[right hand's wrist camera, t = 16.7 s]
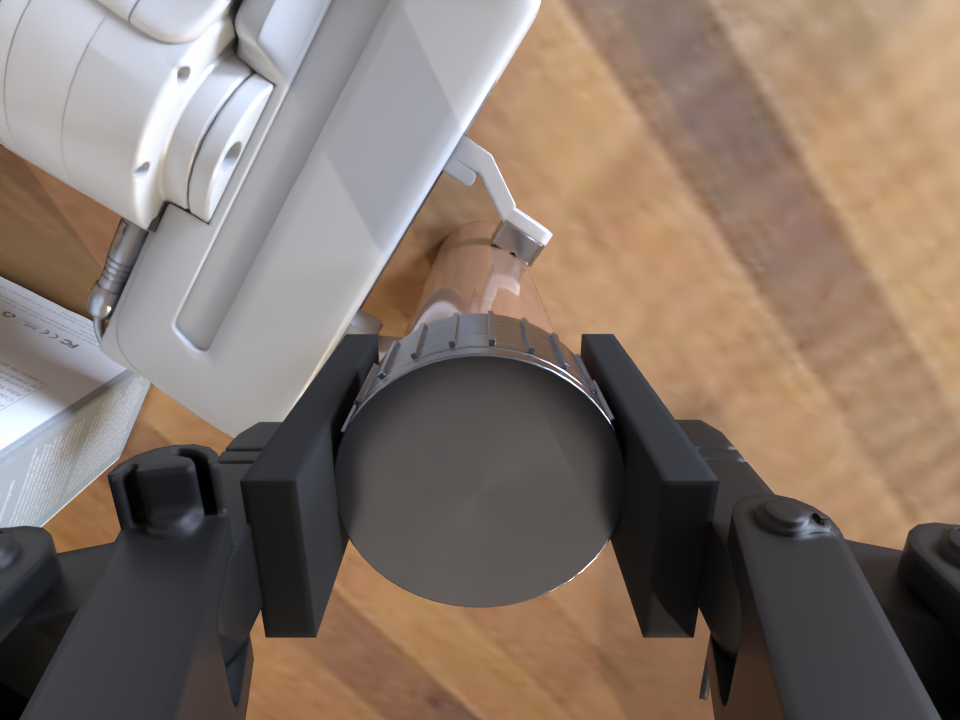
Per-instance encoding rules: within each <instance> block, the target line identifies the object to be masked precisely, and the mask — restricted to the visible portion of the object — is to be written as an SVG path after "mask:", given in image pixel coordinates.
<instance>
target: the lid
mask: <svg viewBox="0 0 960 720" xmlns="http://www.w3.org/2000/svg"><path fill="white" fill-rule="evenodd" d="M615 423H616V420H615V418H614V416H613V414H612V412H611V410H610V408H609V406H608V404H607V402H606V400H605V398H604V396H603V394H602V392H601V390H600V388H599V386H598V384H597V382H596V380H593V381H592V379H591V377H590V375H589V373H588V370H587V368H586V366H585V364H584V362H583V360H582V358H581V356H580V355H579V354H576V355H574V354H573V353H572V352H571V351H570V350H569V349H568V348H567V347H566V346H565V345H564V344H563V343H562V342H561V341H560V340H559V338H558V336H557V334H555V333H554V332H552V334H550V333H548V332H546V331H545V330H543V329H541V328H539V327H538V326H535V325H533V324H530V323H528V320H527V319H526V318H523V317H522V319H521V320H520V319H516V318H513V317H509V316H504V315H497V314H494V313H493V311H488V313H471V314H462V315H459V313H458V312H457V313H453V316H451V317H447V318H443V319H439V320H437V321H434V322H432V323H429V324H426V323H425V322H424V323H422V324H420V327H419V329H417V330H415V331H413V332H411V333H410V334H408V335H407V336H406V337H404V338H403V339H402V340H400V341H399V342H398V341H397V340H395V341H394V342H393V343H392V345H391V347H390V349H389V351H388V352H387V353H386V355H385V356H384V357H383V358H382V360H381V361H380V362H379V363H378V365H377V364H375V363H374V364H373V365H372V367H371V369H370V371H369V373H368V375H367V377H366V379H365V381H364V383H363V385H362V387H361V389H360V391H359V393H358V395H357V397H356V399H355V401H354V403H353V406H352V408H351V410H350V412H349V414H348V416H347V418H346V420H345V422H344V424H343V426H342V428H341V430H340V433H339V436H342V438H341V441H340V443H339V446H338V449H337V453H336V458H335V462H334V475H335V486H336V496H337V505H338V514H339V517H340V520H341V522H342V525H343V527H344V530H345V531H346V533H347V535H348V537H349V538H350V540H351V542H352V544H353V545H354V546H355V548H356V549H357V550H358V552H359V553H360V554H361V556H362V557H363V558H364V559H365V560H366V561H367V562H368V563H369V564H370V565H371V566H372V567H373V568H374V569H375V570H376V571H378V572H379V573H380V574H381V575H383V576H384V577H385V578H387V579H388V580H389V581H391V582H393V583H394V584H396V585H398V586H399V587H401V588H403V589H405V590H407V591H409V592H411V593H413V594H415V595H418V596H420V597H423V598H426V599H429V600H432V601H435V602H440V603H444V604H449V605H455V606H464V607H496V606H505V605H510V604H515V603H520V602H524V601H527V600H530V599H533V598H537V597H539V596H542V595H544V594H546V593H549V592H551V591H553V590H555V589H557V588H558V587H560V586H562V585H564V584H565V583H567V582H569V581H570V580H571V579H573V578H574V577H576V576H577V575H578V574H580V573H581V572H582V571H583V570H584V569H585V568H586V567H587V566H589V565H590V564H591V563H592V562H593V561H594V560H595V559H596V557H597V556H598V555H599V554H600V552H601V551H602V550H603V549H604V548H605V546H606V544H607V543H608V541H609V540H610V538H611V536H612V535H613V533H614V531H615V528H616V526H617V524H618V522H619V519H620V516H621V508H622V499H623V489H624V479H625V459H624V454H623V450H622V447H621V444H620V441H619V438H618V435H617V433H616V431H615V429H614V427H613V424H615Z"/></svg>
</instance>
